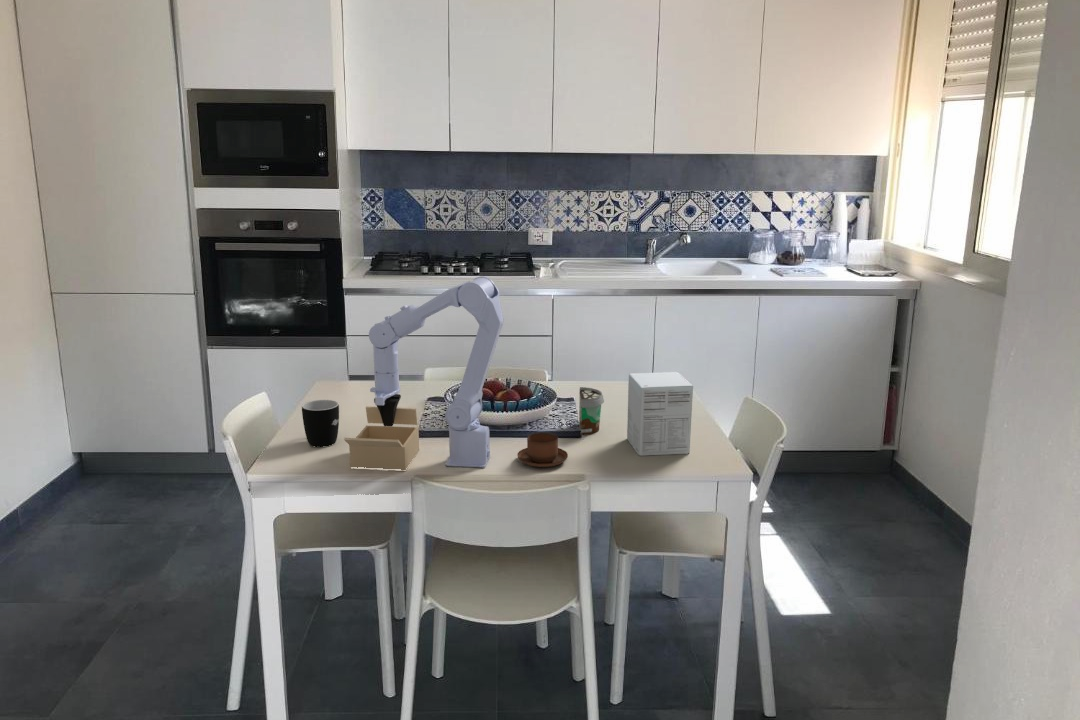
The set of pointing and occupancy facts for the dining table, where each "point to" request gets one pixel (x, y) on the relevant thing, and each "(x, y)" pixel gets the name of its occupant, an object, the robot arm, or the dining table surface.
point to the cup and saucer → (542, 451)
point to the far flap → (401, 416)
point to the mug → (321, 422)
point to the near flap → (373, 442)
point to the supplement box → (659, 413)
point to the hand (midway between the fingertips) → (388, 425)
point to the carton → (386, 448)
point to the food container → (590, 410)
